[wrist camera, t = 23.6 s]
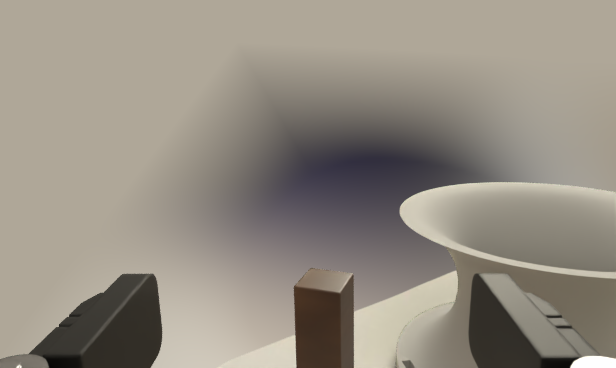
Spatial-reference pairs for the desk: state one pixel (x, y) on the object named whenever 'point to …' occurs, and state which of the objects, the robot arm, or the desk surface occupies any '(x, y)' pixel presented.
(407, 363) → the vase
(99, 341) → the robot arm
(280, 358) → the desk surface
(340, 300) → the brown square bar
